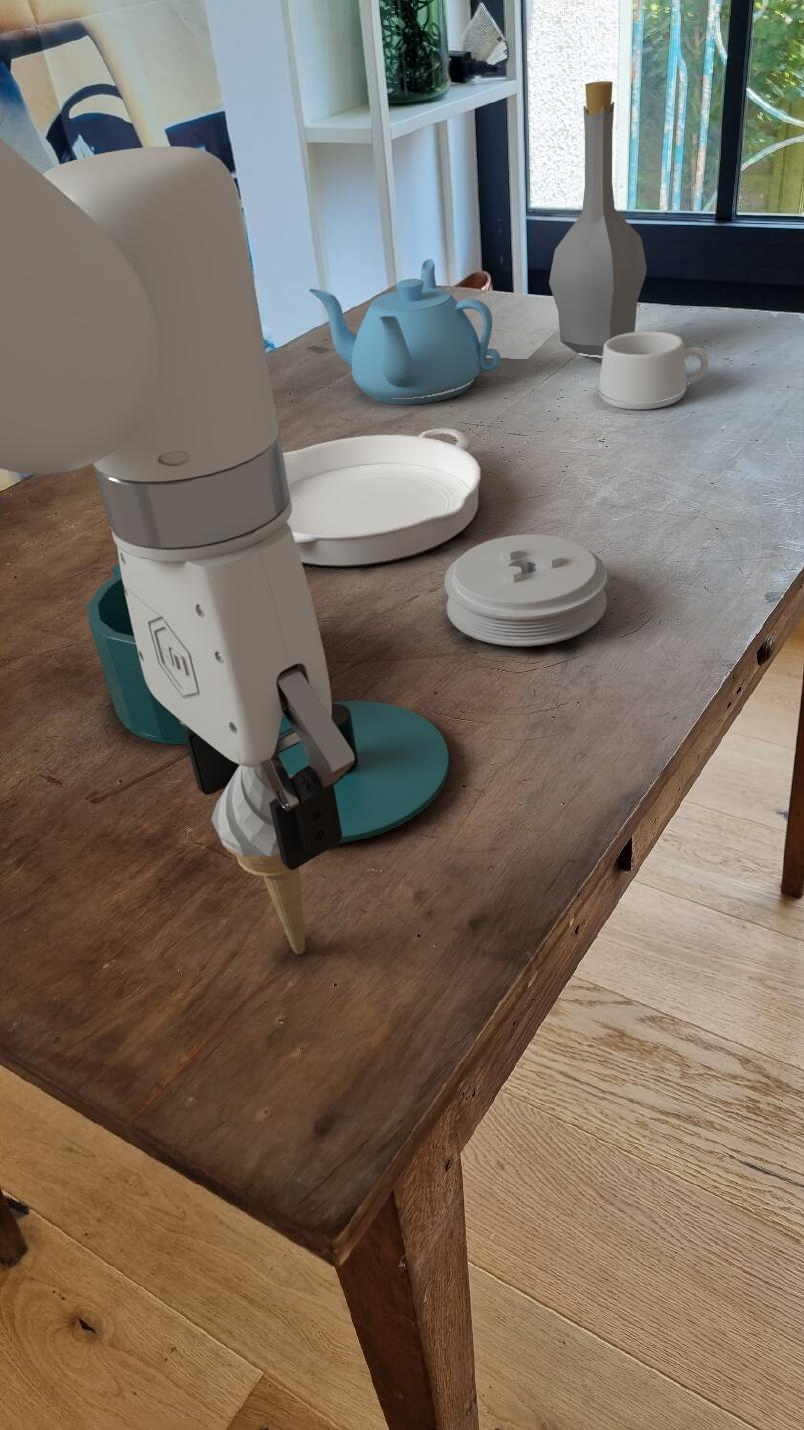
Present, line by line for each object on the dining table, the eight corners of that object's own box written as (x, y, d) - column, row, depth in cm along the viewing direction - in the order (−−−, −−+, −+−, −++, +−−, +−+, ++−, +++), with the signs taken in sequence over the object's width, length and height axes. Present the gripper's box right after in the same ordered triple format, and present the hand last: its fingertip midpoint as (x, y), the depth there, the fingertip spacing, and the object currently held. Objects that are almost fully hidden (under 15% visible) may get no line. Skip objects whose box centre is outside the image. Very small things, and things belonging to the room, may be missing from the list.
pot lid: (314, 886, 66) (301, 821, 63) (192, 778, 75) (176, 717, 73) (495, 775, 73) (491, 711, 70) (361, 689, 82) (353, 630, 79)
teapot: (317, 389, 138) (302, 287, 131) (437, 351, 146) (429, 252, 138) (394, 423, 126) (383, 313, 119) (521, 379, 133) (517, 273, 126)
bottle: (645, 375, 130) (654, 85, 113) (549, 379, 133) (543, 95, 115) (643, 345, 139) (651, 72, 122) (553, 349, 142) (548, 81, 124)
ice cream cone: (369, 946, 61) (333, 729, 53) (295, 1009, 58) (243, 789, 50) (301, 902, 65) (257, 691, 56) (228, 959, 62) (168, 745, 53)
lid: (491, 565, 96) (488, 512, 93) (630, 591, 90) (631, 535, 87) (419, 637, 87) (413, 581, 85) (567, 670, 82) (566, 612, 79)
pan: (179, 538, 107) (170, 500, 104) (374, 442, 122) (370, 407, 119) (358, 609, 92) (352, 566, 90) (554, 490, 107) (553, 451, 105)
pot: (191, 786, 75) (163, 682, 70) (72, 679, 87) (41, 585, 83) (352, 702, 81) (336, 601, 76) (218, 613, 94) (198, 522, 89)
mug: (604, 415, 121) (604, 361, 118) (594, 385, 129) (594, 333, 126) (715, 406, 121) (719, 350, 117) (698, 376, 128) (701, 324, 125)
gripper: (26, 464, 50) (123, 774, 60) (228, 591, 38) (305, 948, 48) (172, 414, 53) (240, 714, 63) (399, 516, 41) (437, 864, 52)
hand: (268, 813), depth 56 cm, fingers open, 7 cm apart
